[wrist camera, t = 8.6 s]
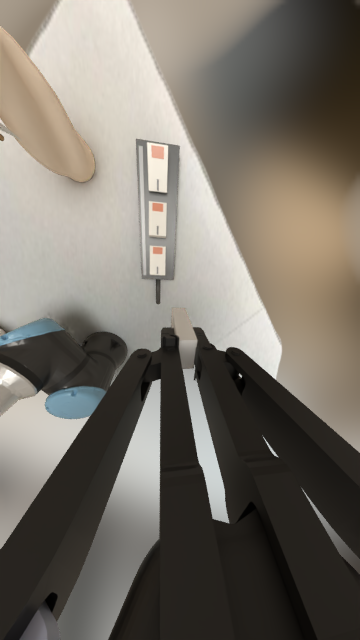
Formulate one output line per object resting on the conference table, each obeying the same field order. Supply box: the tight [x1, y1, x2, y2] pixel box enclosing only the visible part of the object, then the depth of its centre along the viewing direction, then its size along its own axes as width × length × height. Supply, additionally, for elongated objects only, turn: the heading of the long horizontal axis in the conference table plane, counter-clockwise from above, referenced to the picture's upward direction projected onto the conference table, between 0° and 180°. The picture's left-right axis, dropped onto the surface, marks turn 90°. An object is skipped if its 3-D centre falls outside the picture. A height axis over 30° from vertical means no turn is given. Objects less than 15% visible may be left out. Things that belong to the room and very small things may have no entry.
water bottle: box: [0, 26, 95, 182], centre depth 21 cm, size 10×9×28 cm
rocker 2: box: [149, 201, 167, 238], centre depth 35 cm, size 4×7×2 cm, turn 176°
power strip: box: [136, 139, 180, 304], centre depth 41 cm, size 9×37×4 cm, turn 176°
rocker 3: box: [150, 246, 166, 276], centre depth 39 cm, size 4×7×2 cm, turn 176°
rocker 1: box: [147, 142, 168, 193], centre depth 32 cm, size 4×7×2 cm, turn 176°
